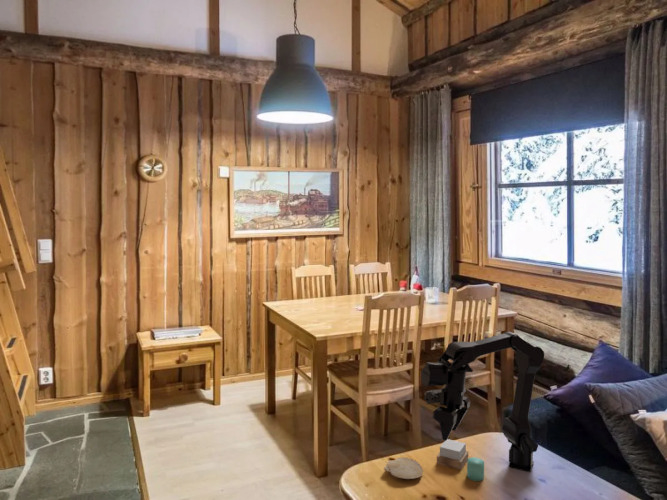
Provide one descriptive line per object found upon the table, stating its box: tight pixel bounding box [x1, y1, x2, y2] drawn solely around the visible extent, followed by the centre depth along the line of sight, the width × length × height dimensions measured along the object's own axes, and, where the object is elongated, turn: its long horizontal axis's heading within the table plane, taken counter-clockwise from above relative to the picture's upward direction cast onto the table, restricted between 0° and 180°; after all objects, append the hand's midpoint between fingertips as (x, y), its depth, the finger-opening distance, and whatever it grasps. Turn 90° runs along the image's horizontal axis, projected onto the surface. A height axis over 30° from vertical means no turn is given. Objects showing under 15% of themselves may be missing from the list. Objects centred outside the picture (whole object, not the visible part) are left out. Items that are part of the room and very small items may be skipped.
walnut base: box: [436, 450, 469, 471], centre depth 174 cm, size 8×8×3 cm
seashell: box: [383, 456, 424, 480], centre depth 166 cm, size 12×12×3 cm
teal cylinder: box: [466, 457, 485, 482], centre depth 164 cm, size 5×5×5 cm
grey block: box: [439, 438, 467, 461], centre depth 173 cm, size 6×6×3 cm
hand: (449, 435), depth 162 cm, fingers open, 9 cm apart
